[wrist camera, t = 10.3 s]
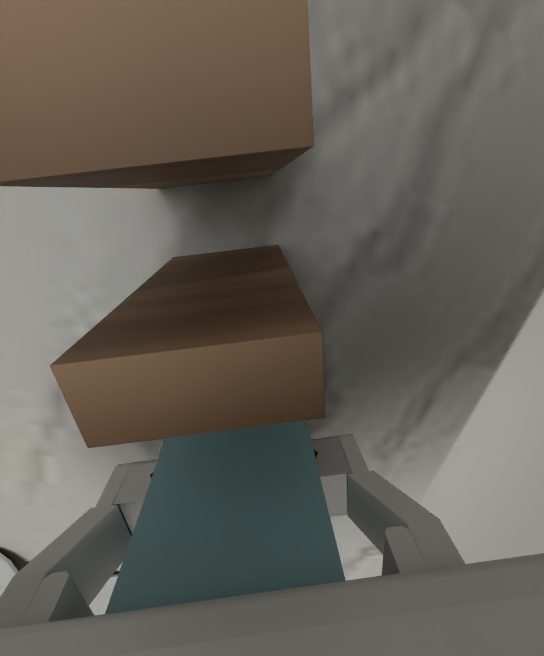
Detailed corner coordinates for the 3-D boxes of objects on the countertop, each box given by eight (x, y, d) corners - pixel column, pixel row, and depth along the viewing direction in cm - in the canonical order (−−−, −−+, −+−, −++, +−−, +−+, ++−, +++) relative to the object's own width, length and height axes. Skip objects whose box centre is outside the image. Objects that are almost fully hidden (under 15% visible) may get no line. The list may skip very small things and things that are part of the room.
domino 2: (173, 257, 15) (49, 365, 6) (277, 245, 15) (321, 331, 6) (182, 297, 16) (87, 448, 6) (281, 285, 16) (325, 417, 7)
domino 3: (188, 370, 15) (95, 642, 6) (290, 357, 15) (351, 606, 6) (197, 403, 16) (126, 687, 7) (293, 390, 16) (351, 655, 7)
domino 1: (144, 135, 13) (-122, -4, 4) (265, 121, 13) (305, -47, 4) (157, 188, 14) (-34, 185, 4) (271, 175, 14) (313, 145, 5)
